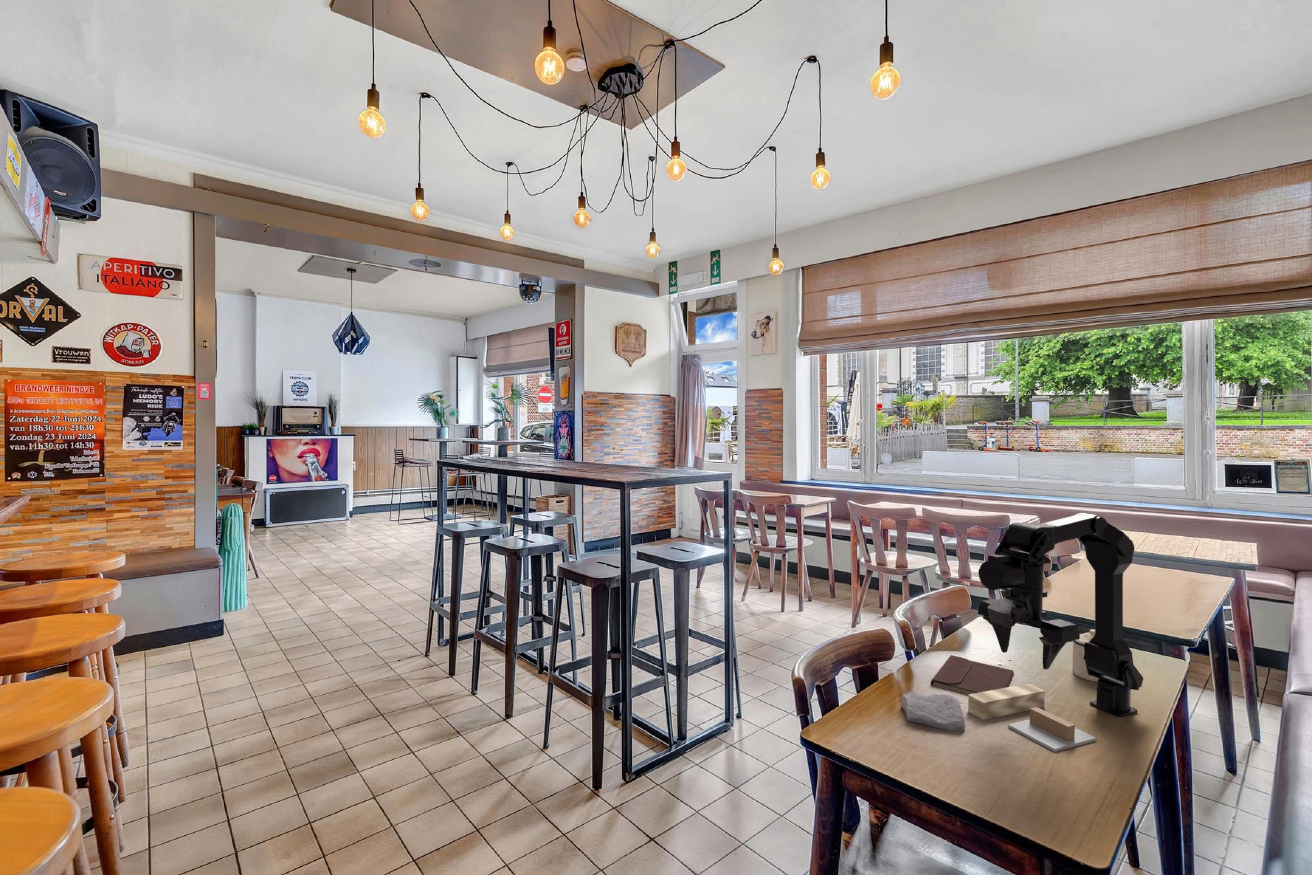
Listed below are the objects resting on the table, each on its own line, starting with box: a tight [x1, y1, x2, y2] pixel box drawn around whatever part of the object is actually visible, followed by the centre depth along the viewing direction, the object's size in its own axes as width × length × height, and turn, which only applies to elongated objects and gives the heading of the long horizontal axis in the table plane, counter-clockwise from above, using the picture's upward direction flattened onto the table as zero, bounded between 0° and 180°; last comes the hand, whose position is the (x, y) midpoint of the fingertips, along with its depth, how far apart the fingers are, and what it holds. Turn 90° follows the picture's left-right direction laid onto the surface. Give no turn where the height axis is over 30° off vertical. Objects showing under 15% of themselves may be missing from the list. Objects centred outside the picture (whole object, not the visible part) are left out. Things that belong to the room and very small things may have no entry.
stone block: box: [901, 691, 966, 732], centre depth 129 cm, size 12×5×10 cm
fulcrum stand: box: [1007, 707, 1097, 753], centre depth 123 cm, size 12×10×4 cm
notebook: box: [930, 654, 1015, 695], centre depth 149 cm, size 15×20×2 cm
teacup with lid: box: [1071, 628, 1098, 683], centre depth 153 cm, size 12×9×12 cm
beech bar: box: [967, 683, 1046, 720], centre depth 134 cm, size 18×4×4 cm, turn 110°
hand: (1024, 660), depth 124 cm, fingers open, 9 cm apart
